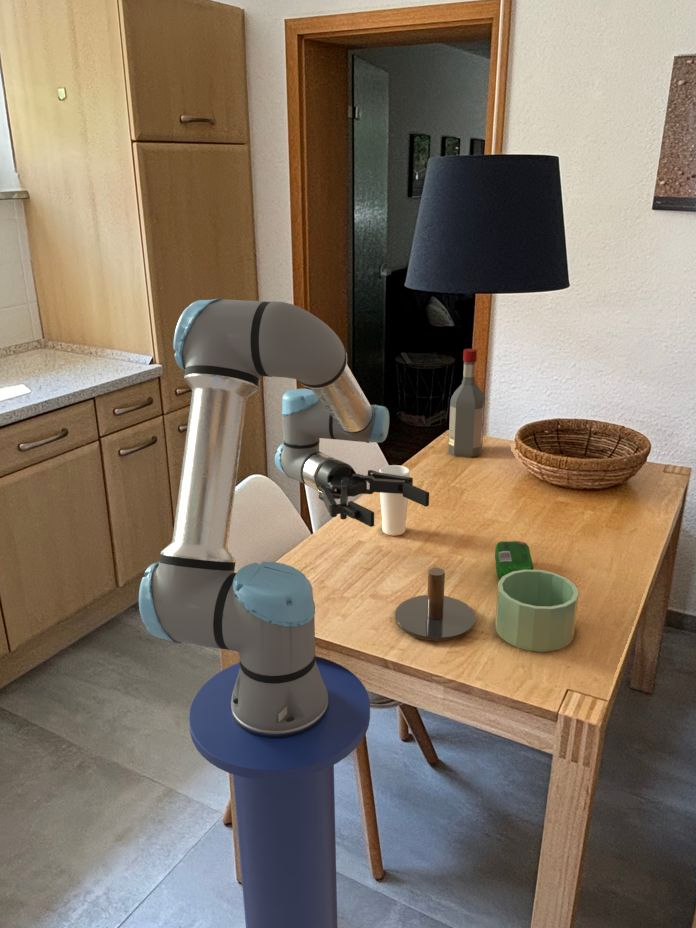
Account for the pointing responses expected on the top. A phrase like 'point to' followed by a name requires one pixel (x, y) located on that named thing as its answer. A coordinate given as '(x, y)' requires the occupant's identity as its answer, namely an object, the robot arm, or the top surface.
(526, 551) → the snack package
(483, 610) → the top surface
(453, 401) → the liquor
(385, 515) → the drinking glass
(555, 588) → the pot
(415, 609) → the lid
